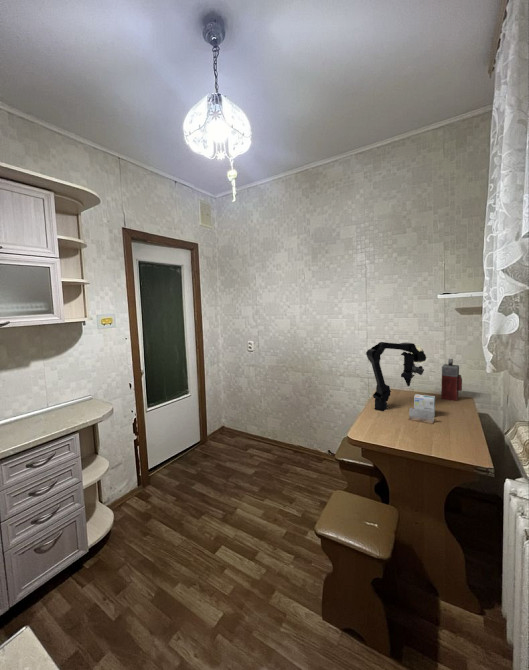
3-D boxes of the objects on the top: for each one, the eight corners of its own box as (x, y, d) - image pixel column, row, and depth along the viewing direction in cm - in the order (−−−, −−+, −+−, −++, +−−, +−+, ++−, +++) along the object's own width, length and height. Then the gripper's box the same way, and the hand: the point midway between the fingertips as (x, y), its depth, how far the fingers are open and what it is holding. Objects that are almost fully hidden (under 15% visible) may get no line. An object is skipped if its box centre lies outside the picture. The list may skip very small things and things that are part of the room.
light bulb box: (435, 413, 168) (435, 396, 167) (434, 417, 162) (434, 399, 162) (414, 410, 174) (415, 393, 173) (413, 414, 168) (413, 396, 167)
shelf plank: (408, 419, 160) (408, 418, 160) (409, 418, 162) (409, 417, 162) (433, 424, 153) (433, 423, 153) (433, 422, 155) (433, 421, 155)
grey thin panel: (409, 418, 162) (409, 408, 161) (409, 417, 163) (409, 407, 162) (433, 422, 155) (433, 412, 154) (433, 421, 156) (433, 411, 155)
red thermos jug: (461, 402, 186) (462, 360, 184) (441, 399, 193) (442, 359, 191) (462, 399, 193) (463, 358, 191) (443, 396, 200) (444, 357, 198)
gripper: (421, 365, 169) (420, 391, 170) (424, 360, 184) (424, 384, 185) (400, 364, 175) (400, 388, 177) (406, 359, 191) (405, 382, 192)
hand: (408, 386), depth 182 cm, fingers closed
